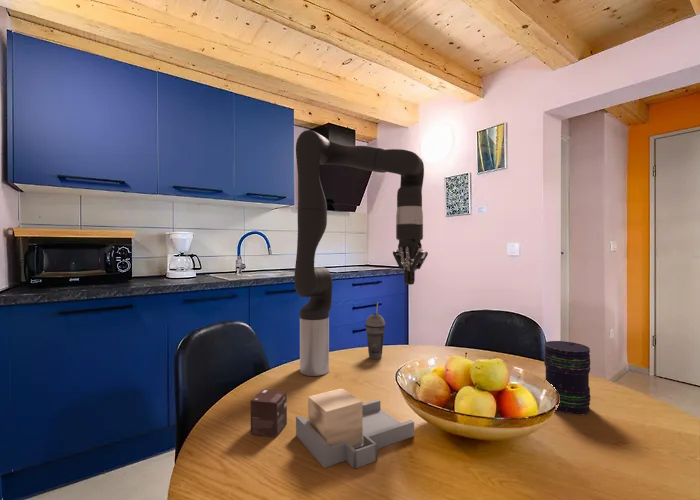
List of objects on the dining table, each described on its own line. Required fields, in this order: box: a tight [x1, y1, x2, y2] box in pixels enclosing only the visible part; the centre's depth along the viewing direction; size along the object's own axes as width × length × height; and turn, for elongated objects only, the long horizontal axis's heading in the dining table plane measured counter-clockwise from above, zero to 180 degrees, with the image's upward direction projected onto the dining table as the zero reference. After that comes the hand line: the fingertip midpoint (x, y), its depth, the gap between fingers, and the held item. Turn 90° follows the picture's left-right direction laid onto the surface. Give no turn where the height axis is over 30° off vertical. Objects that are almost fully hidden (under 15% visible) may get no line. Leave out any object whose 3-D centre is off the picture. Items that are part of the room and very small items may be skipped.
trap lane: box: [295, 399, 415, 470], centre depth 75 cm, size 19×21×4 cm
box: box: [250, 389, 288, 438], centre depth 78 cm, size 6×6×7 cm
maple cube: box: [307, 387, 363, 446], centre depth 72 cm, size 8×8×8 cm
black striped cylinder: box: [543, 340, 591, 415], centre depth 89 cm, size 10×10×15 cm
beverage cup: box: [364, 301, 386, 360], centre depth 129 cm, size 7×7×20 cm
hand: (409, 284), depth 102 cm, fingers closed
